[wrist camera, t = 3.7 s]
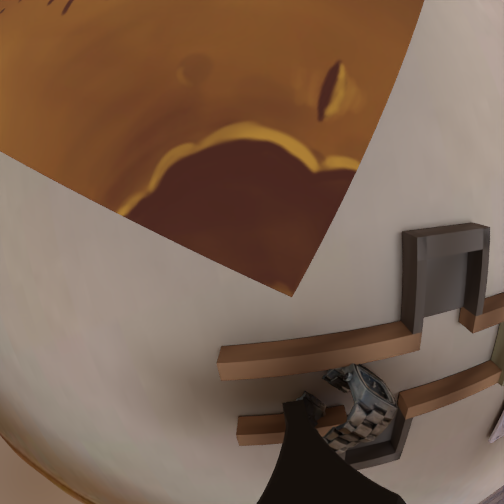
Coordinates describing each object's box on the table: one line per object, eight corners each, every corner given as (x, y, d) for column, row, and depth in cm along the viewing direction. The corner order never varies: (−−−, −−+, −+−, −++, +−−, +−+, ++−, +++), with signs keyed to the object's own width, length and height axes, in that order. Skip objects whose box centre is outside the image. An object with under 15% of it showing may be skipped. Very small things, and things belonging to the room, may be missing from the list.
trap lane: (520, 216, 11) (542, 221, 9) (480, 411, 14) (491, 425, 12) (203, 257, 13) (192, 270, 11) (252, 466, 16) (250, 488, 14)
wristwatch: (375, 363, 14) (406, 420, 9) (303, 412, 15) (311, 476, 10) (346, 329, 14) (375, 387, 9) (270, 385, 15) (269, 451, 10)
